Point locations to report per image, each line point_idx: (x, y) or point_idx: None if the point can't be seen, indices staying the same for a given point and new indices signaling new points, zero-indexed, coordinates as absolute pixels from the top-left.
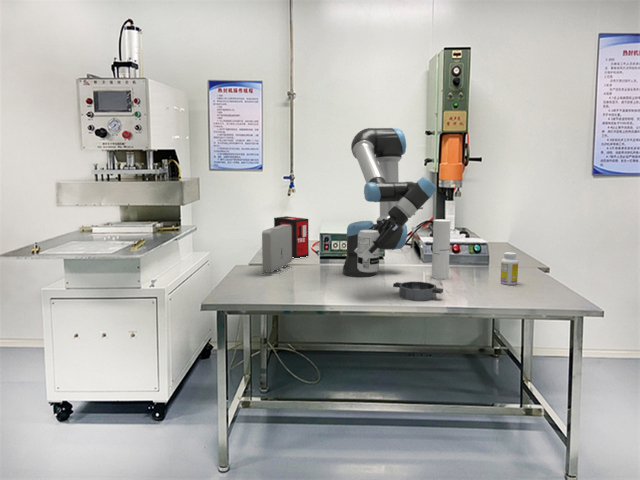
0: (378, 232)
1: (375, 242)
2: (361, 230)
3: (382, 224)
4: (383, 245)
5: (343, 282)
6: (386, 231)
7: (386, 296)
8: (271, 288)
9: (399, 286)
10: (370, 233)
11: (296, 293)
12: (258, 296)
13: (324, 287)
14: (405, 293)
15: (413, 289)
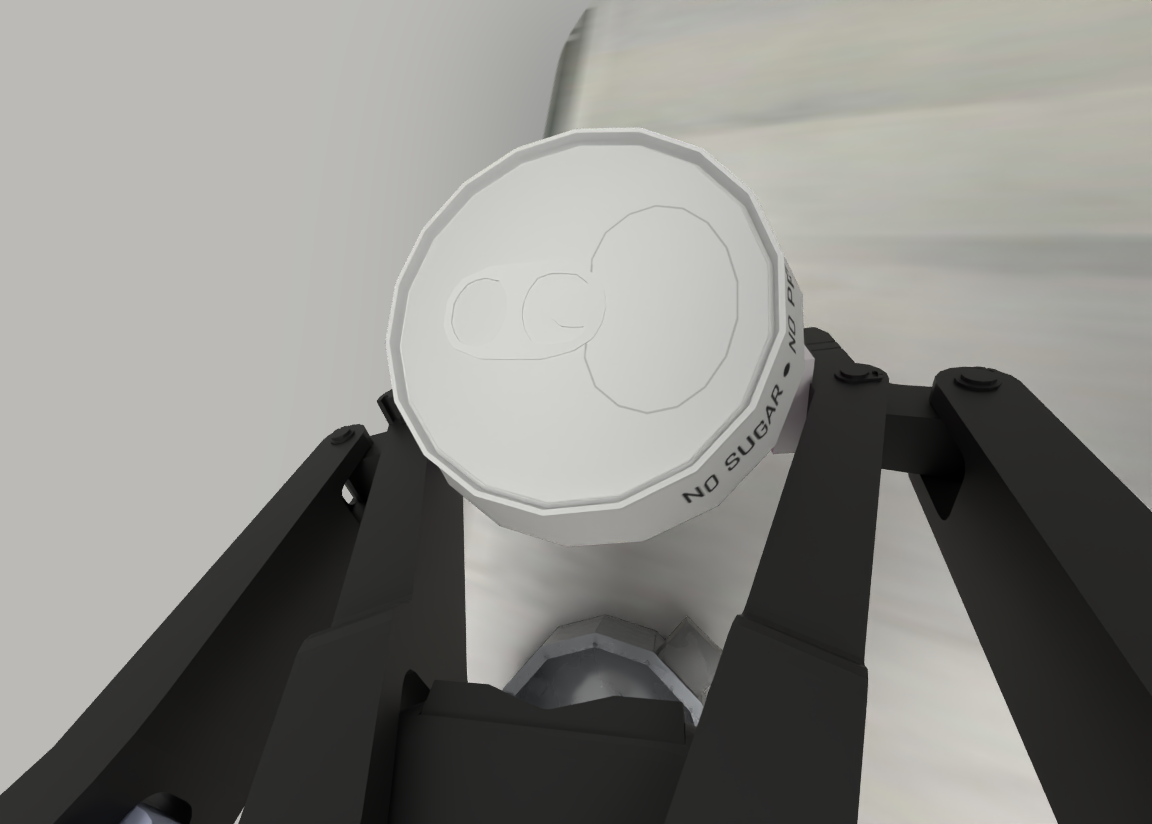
0: (552, 522)
1: (389, 416)
2: (711, 168)
3: (670, 800)
4: (355, 510)
5: (1005, 371)
6: (209, 615)
7: (626, 545)
8: (845, 26)
9: (639, 643)
10: (401, 320)
11: (733, 138)
12: (696, 10)
13: (858, 257)
14: (550, 636)
15: (516, 687)
